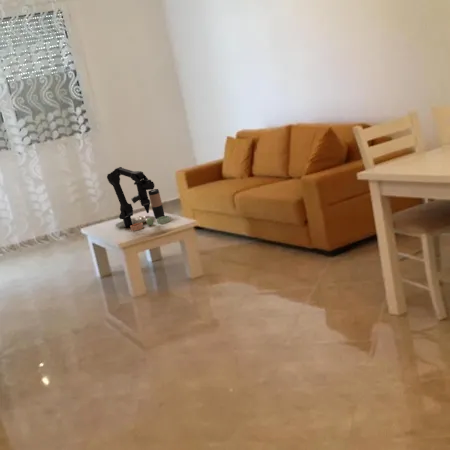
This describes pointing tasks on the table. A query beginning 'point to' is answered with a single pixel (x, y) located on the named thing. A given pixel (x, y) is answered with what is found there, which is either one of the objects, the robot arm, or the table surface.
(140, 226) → the terracotta cup
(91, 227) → the table surface
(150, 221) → the ball
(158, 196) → the travel mug
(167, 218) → the green cup
